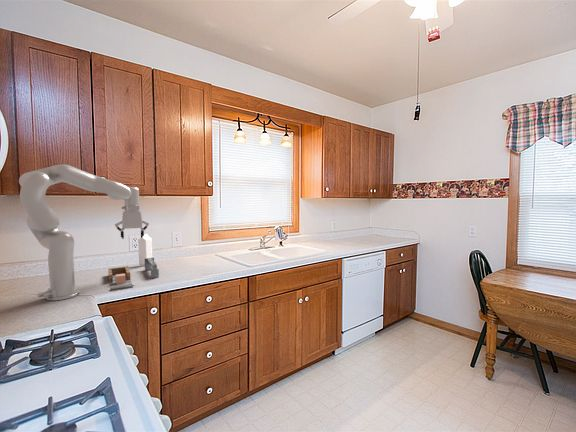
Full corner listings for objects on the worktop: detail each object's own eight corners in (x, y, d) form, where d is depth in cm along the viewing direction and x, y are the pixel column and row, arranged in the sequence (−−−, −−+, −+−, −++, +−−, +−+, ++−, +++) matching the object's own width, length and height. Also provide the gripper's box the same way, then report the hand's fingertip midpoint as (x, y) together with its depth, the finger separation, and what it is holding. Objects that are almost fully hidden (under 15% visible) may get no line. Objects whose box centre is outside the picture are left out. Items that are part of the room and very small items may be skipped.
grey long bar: (160, 278, 166) (159, 264, 165) (150, 280, 163) (149, 265, 162) (154, 270, 184) (153, 257, 184) (144, 271, 181) (144, 258, 181)
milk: (152, 265, 198) (152, 233, 196) (146, 267, 192) (145, 235, 190) (145, 264, 199) (144, 233, 197) (139, 267, 193) (137, 234, 191)
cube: (125, 283, 155) (125, 275, 154) (116, 284, 152) (115, 276, 152) (125, 281, 158) (124, 273, 158) (115, 282, 156) (115, 274, 155)
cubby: (132, 287, 151) (132, 278, 150) (110, 291, 145) (109, 281, 145) (127, 274, 175) (127, 266, 175) (108, 277, 170) (108, 268, 169)
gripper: (114, 208, 157) (115, 239, 158) (149, 208, 166) (149, 238, 167) (114, 208, 163) (115, 238, 164) (147, 208, 173) (148, 236, 173)
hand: (132, 238), depth 166 cm, fingers open, 9 cm apart
